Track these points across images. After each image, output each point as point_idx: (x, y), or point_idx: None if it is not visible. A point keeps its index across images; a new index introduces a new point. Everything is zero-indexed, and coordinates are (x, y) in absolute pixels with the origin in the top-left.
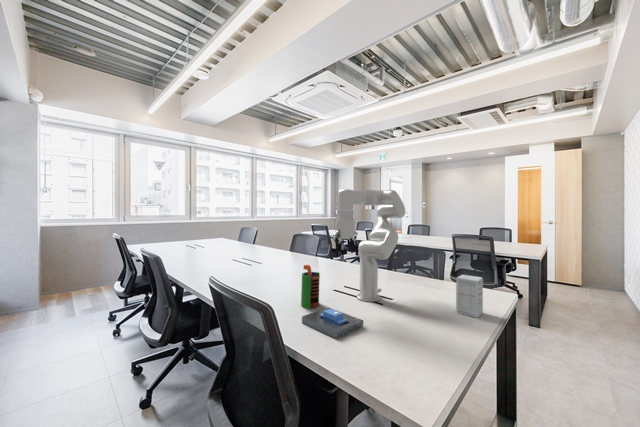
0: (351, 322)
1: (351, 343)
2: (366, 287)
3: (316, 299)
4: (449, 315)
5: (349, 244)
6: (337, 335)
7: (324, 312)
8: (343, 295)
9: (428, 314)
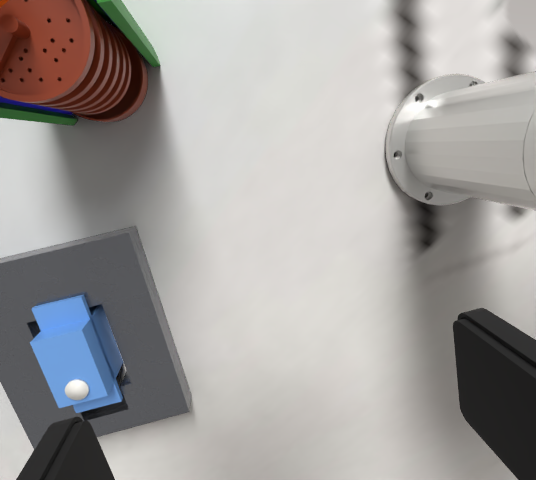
0: (133, 410)
1: None
2: (445, 175)
3: (139, 59)
4: None
5: (530, 393)
6: None
7: (34, 347)
8: (365, 21)
9: None
